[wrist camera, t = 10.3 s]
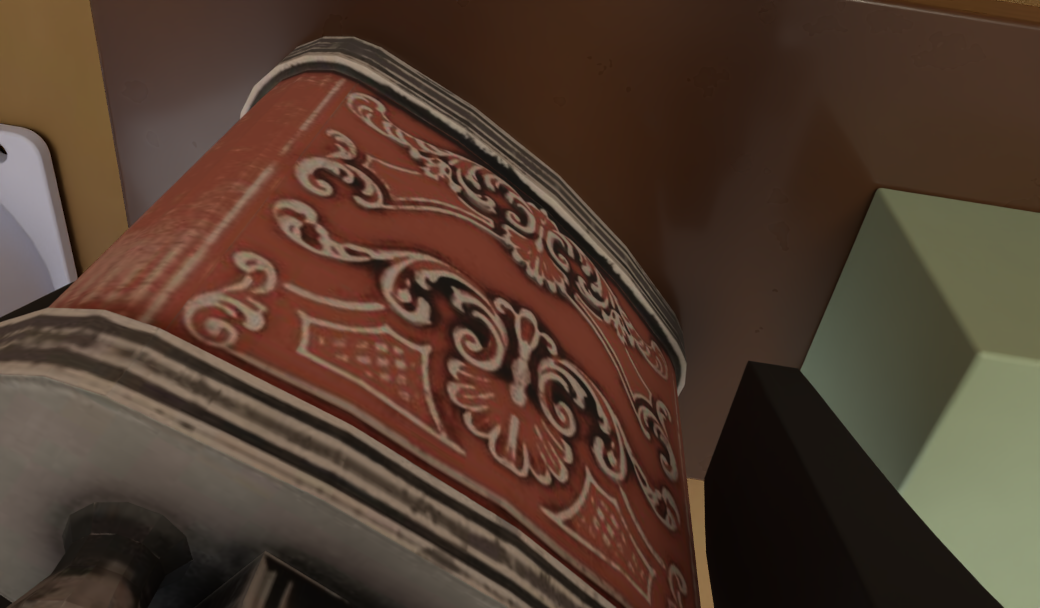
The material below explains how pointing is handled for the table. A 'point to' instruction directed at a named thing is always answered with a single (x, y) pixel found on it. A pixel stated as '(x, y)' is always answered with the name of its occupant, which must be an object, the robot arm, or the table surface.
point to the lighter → (350, 378)
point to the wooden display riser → (651, 128)
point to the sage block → (946, 374)
